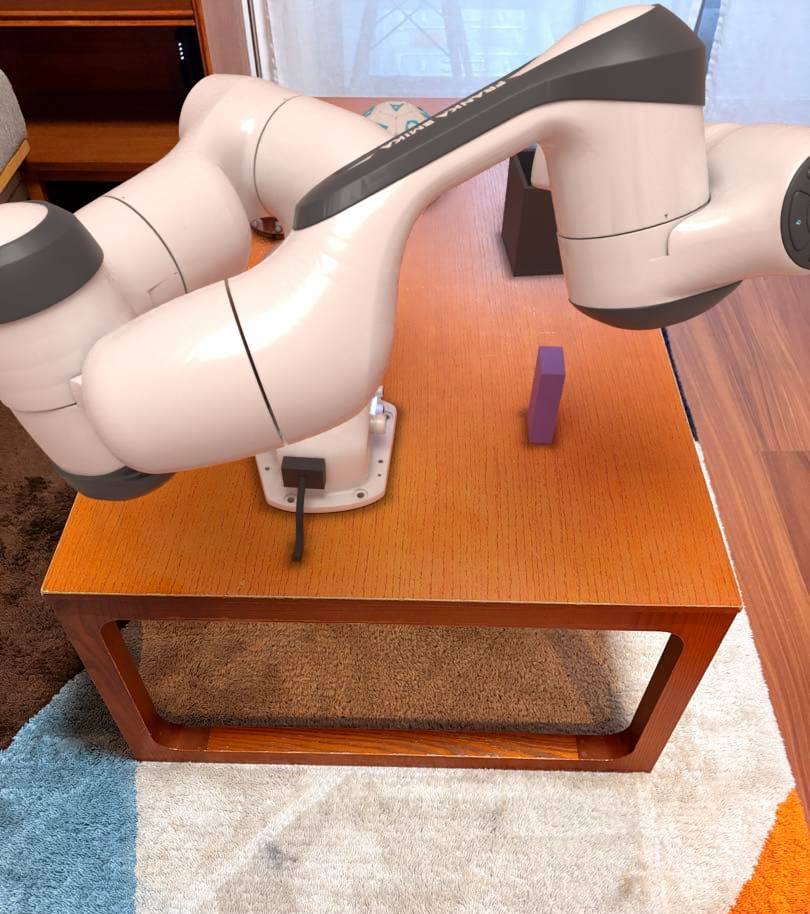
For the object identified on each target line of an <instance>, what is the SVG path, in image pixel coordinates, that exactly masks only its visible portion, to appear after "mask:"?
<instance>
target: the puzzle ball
mask: <svg viewBox="0 0 810 914" xmlns="http://www.w3.org/2000/svg"><path fill="white" fill-rule="evenodd" d="M361 115H362V116H365V117H367V118H369V119H371V120H372V121H374V122H375V123H377V124H378V125H380V126H381V127H383V128H384V129H386V130H387V131H389V132H390V133H391V134H393V135H394V136H397V135H399V134H401V133H402V132H404V131H406V130H408V129H410V128H411V127H413V126H415V125H417V124H419V123H420V122H422V121H424V120H426V119H428V118H430V117H431V116H430V114H428V112H426V111H425V110H424V109H422V107H419V106H417V105H415V104H413V103H410V102H407V101H401V100H390V101H389V100H387V101H385V102H381V103H379V104H377V105H373V106H372V107H371V108H369V109H367V110H366V111H365V112H364V113H363V114H361Z"/></svg>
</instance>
